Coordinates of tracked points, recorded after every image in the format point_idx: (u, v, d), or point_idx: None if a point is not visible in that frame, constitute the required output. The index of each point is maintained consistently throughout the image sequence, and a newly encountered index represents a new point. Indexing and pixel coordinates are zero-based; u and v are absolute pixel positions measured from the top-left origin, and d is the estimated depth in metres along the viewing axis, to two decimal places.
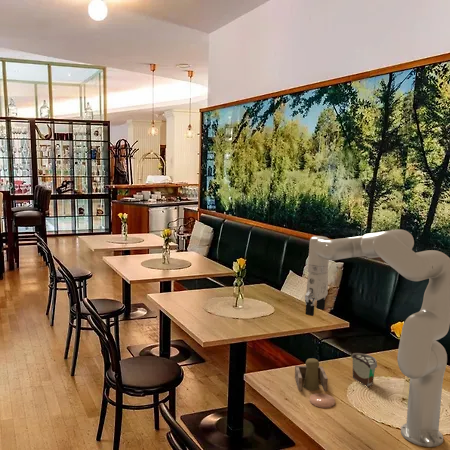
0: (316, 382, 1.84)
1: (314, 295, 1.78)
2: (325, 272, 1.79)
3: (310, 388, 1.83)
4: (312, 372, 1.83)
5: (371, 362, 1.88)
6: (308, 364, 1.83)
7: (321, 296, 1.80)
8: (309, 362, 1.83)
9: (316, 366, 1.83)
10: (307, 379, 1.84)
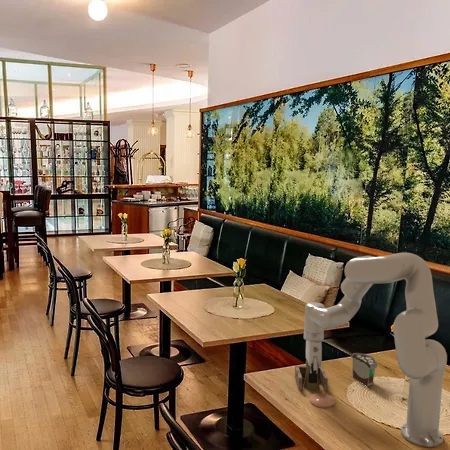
0: None
1: None
2: (323, 337, 1.83)
3: (310, 388, 1.83)
4: None
5: (371, 362, 1.88)
6: None
7: None
8: None
9: None
10: (307, 379, 1.84)
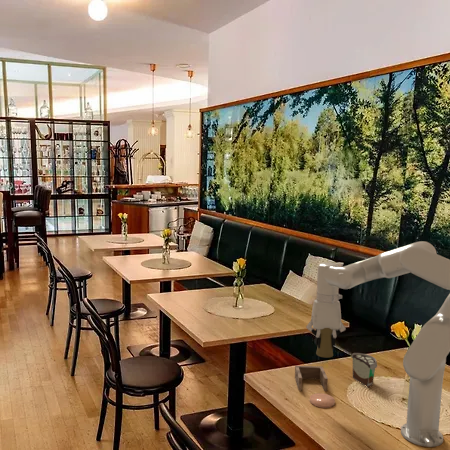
0: None
1: None
2: None
3: (332, 353, 1.71)
4: (331, 337, 1.71)
5: (371, 362, 1.88)
6: (331, 330, 1.69)
7: None
8: None
9: None
10: (330, 346, 1.70)
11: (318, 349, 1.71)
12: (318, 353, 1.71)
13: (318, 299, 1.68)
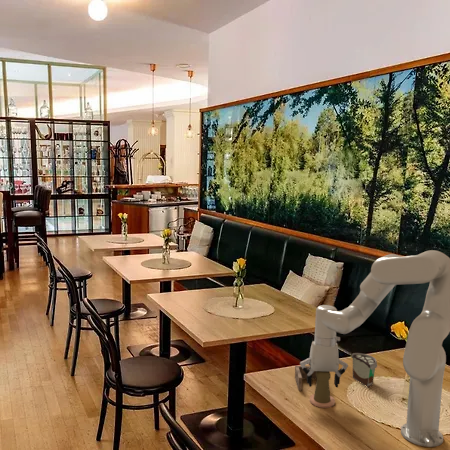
0: None
1: None
2: None
3: None
4: (328, 382, 1.73)
5: (371, 362, 1.88)
6: (329, 376, 1.71)
7: None
8: (328, 373, 1.71)
9: None
10: (328, 392, 1.72)
11: (315, 394, 1.73)
12: (315, 398, 1.72)
13: (316, 342, 1.70)
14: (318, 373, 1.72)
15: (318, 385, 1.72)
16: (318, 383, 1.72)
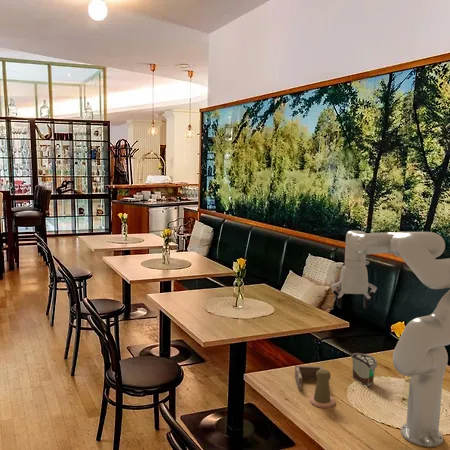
0: None
1: None
2: None
3: None
4: (328, 382, 1.73)
5: (371, 362, 1.88)
6: (329, 376, 1.71)
7: None
8: (328, 373, 1.71)
9: None
10: (328, 392, 1.72)
11: (316, 394, 1.73)
12: (316, 398, 1.72)
13: (346, 265, 1.78)
14: (318, 373, 1.72)
15: (318, 385, 1.72)
16: (318, 383, 1.72)
